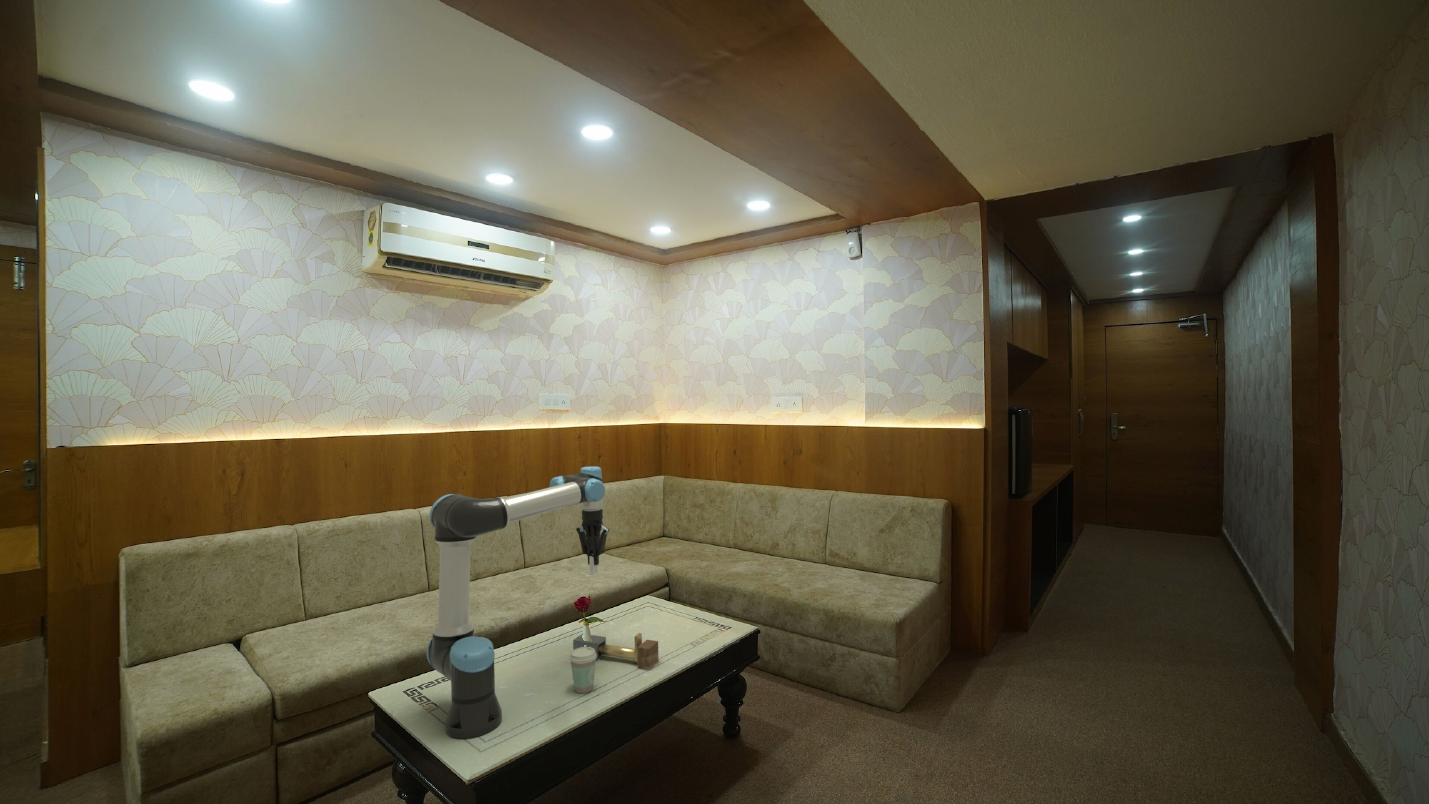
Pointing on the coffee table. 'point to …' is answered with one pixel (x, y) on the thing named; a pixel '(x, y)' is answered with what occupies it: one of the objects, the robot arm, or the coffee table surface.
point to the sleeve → (590, 643)
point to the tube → (621, 649)
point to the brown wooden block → (647, 654)
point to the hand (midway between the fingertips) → (593, 573)
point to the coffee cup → (583, 668)
